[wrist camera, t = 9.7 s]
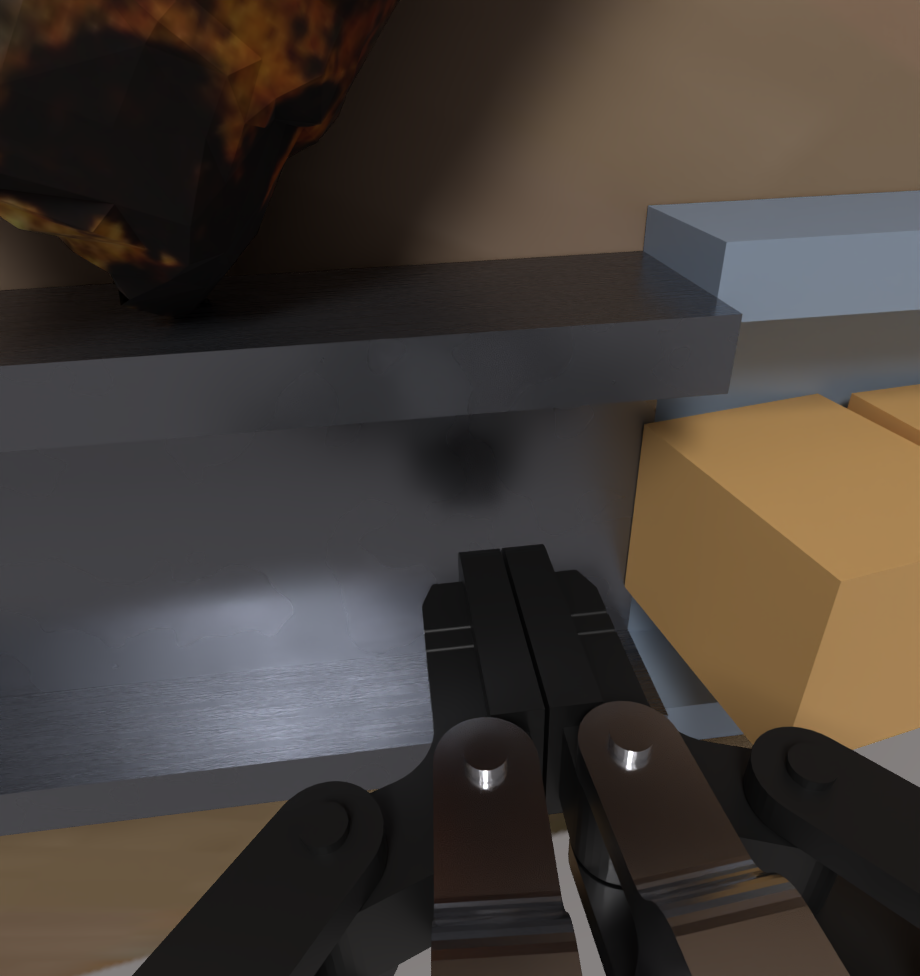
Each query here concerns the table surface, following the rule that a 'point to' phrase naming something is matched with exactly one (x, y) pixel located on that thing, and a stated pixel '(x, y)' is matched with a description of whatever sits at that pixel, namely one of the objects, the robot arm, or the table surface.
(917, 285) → the tray
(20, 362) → the rail
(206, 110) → the dark wooden branch
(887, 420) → the cardboard box
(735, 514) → the tan cardboard cube
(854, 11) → the table surface
